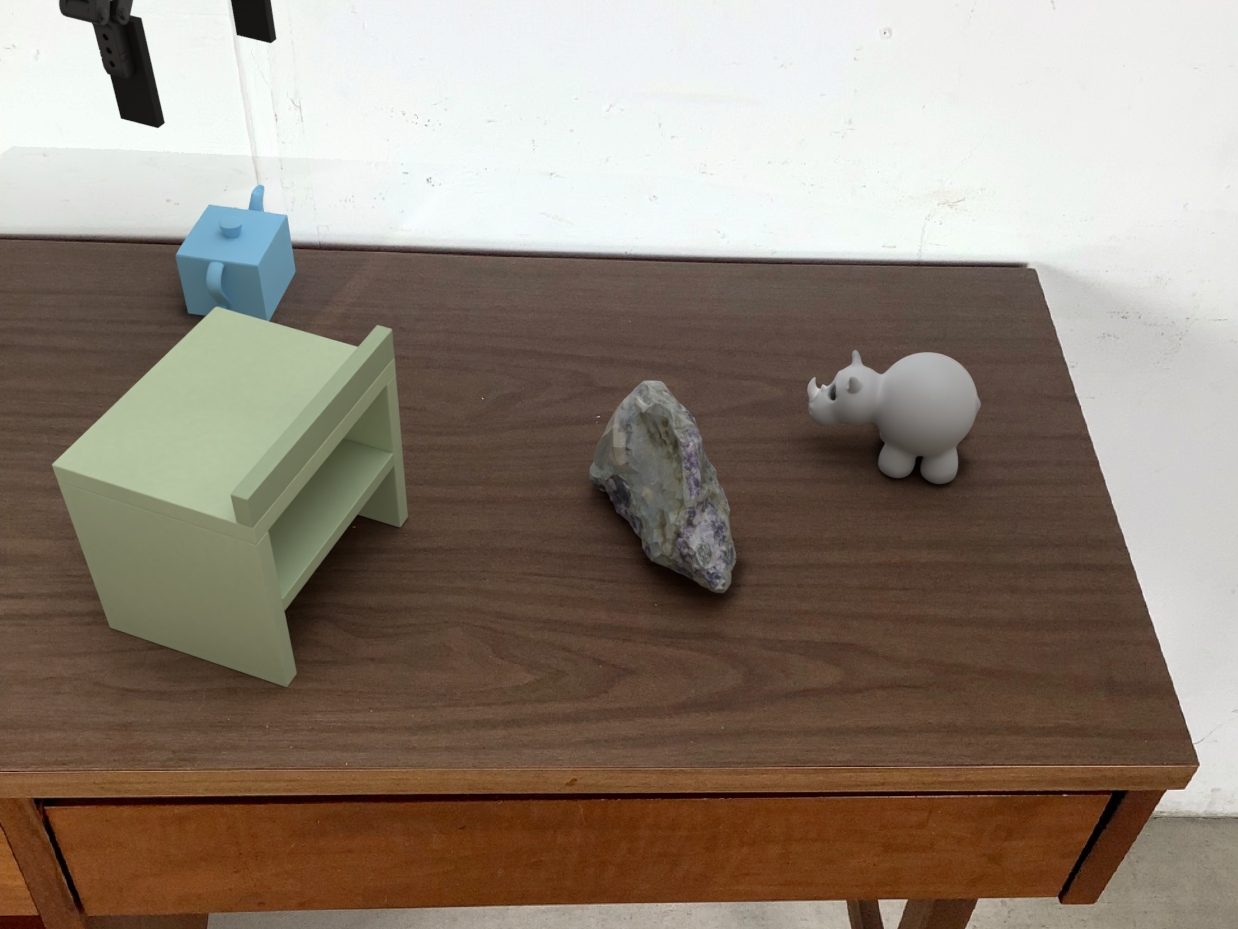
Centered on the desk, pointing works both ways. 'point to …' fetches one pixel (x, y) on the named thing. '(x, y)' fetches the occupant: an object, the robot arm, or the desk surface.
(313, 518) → the shelf
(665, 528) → the mineral rock
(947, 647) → the desk surface
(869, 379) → the toy rhinoceros
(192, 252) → the teapot
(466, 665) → the desk surface
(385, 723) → the desk surface
